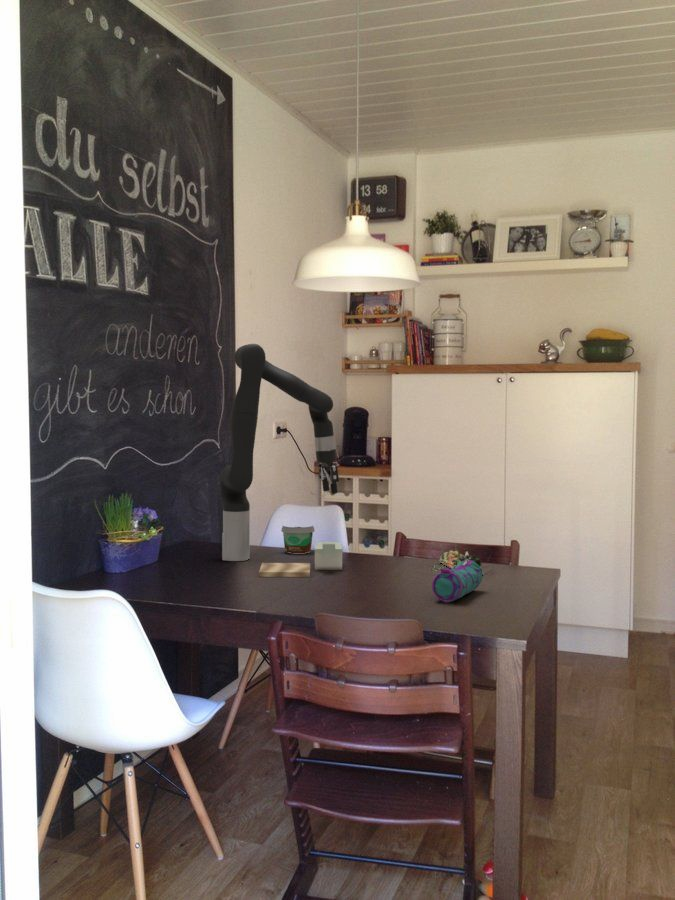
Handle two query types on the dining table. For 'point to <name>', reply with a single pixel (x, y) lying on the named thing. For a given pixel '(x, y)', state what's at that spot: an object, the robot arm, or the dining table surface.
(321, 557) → the tub
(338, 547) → the pale grey block
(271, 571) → the board
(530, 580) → the dining table surface
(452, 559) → the floral arrangement
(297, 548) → the food container
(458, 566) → the pencil case
